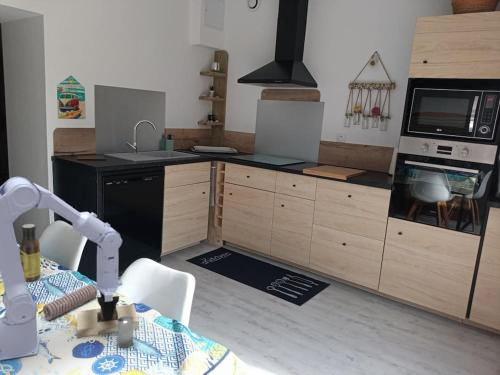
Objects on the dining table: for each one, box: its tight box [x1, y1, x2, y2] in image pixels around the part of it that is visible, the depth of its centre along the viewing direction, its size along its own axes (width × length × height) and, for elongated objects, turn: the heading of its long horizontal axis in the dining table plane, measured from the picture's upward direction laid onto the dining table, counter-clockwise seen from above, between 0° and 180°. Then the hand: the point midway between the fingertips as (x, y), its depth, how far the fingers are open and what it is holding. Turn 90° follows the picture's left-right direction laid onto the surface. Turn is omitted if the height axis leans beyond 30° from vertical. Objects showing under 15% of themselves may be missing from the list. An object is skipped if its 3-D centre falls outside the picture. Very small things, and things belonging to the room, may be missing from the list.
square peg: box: [100, 305, 117, 322], centre depth 110 cm, size 4×4×7 cm
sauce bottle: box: [18, 223, 41, 282], centre depth 132 cm, size 6×6×20 cm
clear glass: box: [116, 316, 134, 349], centre depth 102 cm, size 4×4×7 cm
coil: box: [42, 283, 98, 322], centre depth 118 cm, size 5×5×18 cm
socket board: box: [76, 303, 139, 339], centre depth 110 cm, size 16×10×2 cm, turn 113°
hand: (107, 312), depth 110 cm, fingers open, 7 cm apart
